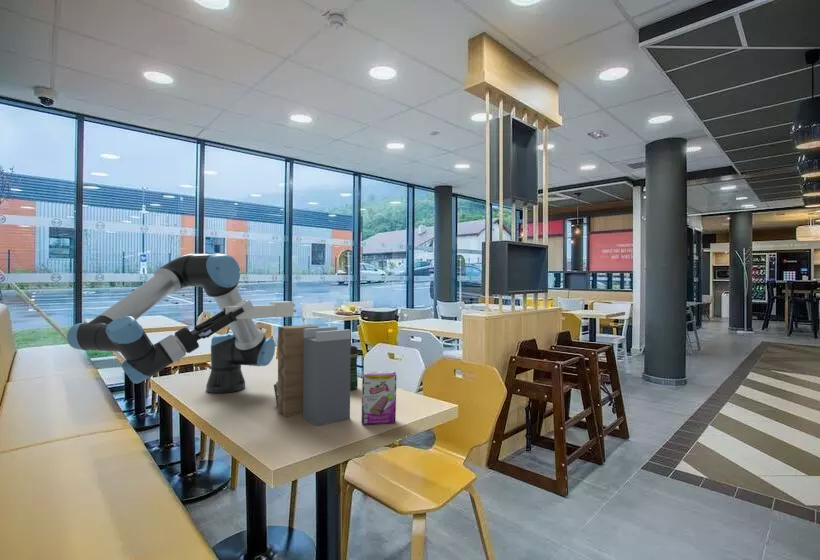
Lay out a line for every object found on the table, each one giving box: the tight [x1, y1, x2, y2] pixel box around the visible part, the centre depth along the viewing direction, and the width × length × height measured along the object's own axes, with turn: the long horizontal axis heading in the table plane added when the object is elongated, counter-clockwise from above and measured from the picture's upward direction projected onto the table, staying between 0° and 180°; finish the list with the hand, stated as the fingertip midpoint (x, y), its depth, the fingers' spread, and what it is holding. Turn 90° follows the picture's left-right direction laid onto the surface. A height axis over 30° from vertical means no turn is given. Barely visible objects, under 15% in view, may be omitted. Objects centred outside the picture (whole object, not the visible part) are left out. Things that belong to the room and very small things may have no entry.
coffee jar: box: [350, 345, 359, 391], centre depth 183 cm, size 10×8×19 cm
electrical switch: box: [273, 381, 278, 406], centre depth 161 cm, size 9×5×9 cm, turn 141°
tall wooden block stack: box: [277, 324, 319, 417], centre depth 152 cm, size 7×12×30 cm, turn 127°
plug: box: [225, 300, 297, 319], centre depth 144 cm, size 6×22×5 cm, turn 127°
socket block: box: [302, 326, 352, 426], centre depth 145 cm, size 11×12×30 cm
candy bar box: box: [360, 370, 397, 426], centre depth 141 cm, size 11×5×16 cm, turn 99°
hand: (249, 303), depth 142 cm, fingers closed on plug, 4 cm apart
